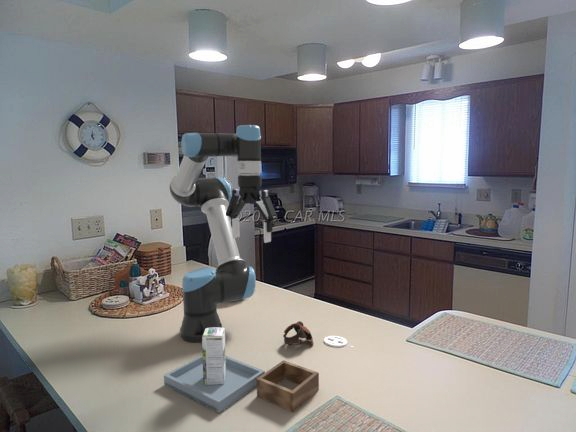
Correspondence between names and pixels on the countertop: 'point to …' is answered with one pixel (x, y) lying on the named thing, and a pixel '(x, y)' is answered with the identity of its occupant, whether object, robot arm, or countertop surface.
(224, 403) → the grey tray
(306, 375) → the wooden cube shelf
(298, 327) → the brown curved piece
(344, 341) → the pendant
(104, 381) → the countertop surface
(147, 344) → the countertop surface
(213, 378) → the syrup box
